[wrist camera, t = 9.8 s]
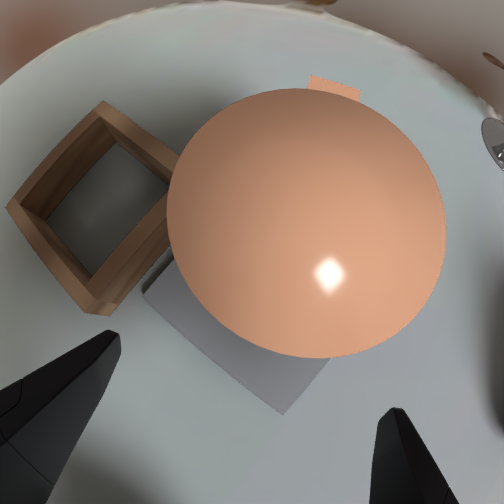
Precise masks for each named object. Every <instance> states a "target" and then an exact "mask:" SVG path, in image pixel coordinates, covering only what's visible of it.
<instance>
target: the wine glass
mask: <svg viewBox="0 0 504 504" xmlns="http://www.w3.org/2000/svg"><path fill="white" fill-rule="evenodd" d="M482 134H483V138H484V142H485V144H486V146H487V148H488V150H489V152H490V154H491V156H492V157H493V159H494V160H495V162H496V163H497V164H498V165H499V166H500V168H501V169H502V170H503V171H504V123H503V122H501V121H500V120H498V119H495V118H487V119H485V120H484V122H483V124H482Z"/></svg>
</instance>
